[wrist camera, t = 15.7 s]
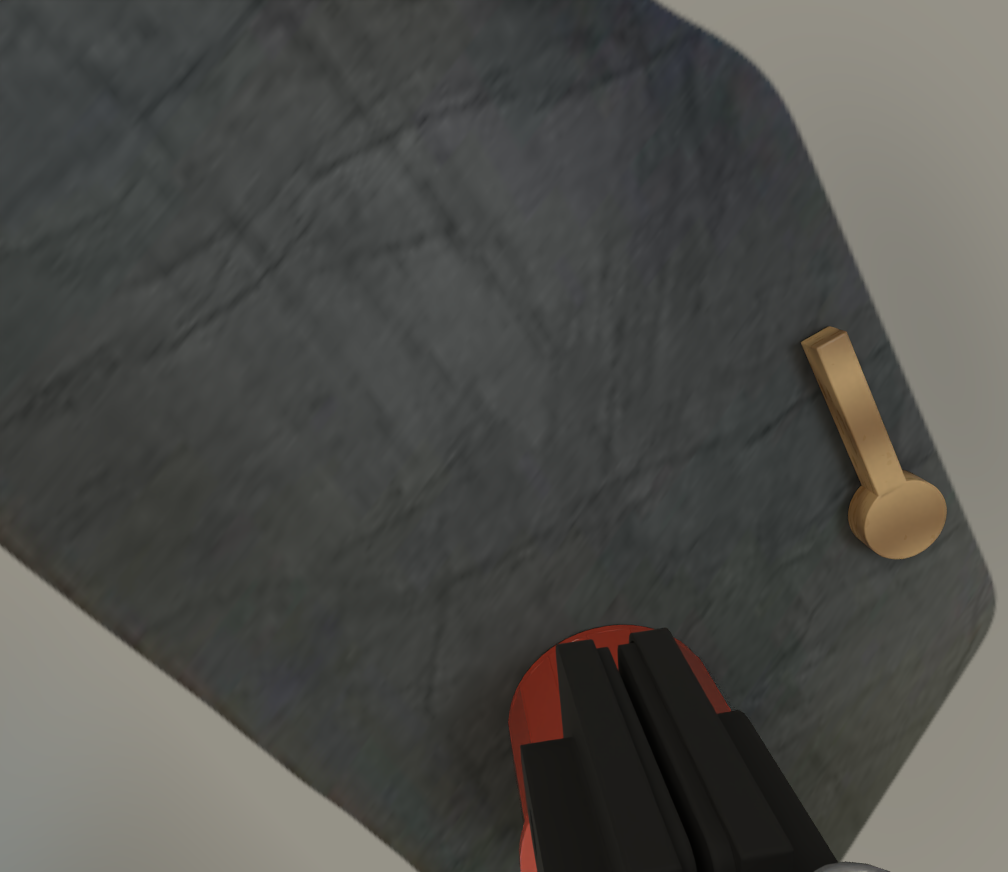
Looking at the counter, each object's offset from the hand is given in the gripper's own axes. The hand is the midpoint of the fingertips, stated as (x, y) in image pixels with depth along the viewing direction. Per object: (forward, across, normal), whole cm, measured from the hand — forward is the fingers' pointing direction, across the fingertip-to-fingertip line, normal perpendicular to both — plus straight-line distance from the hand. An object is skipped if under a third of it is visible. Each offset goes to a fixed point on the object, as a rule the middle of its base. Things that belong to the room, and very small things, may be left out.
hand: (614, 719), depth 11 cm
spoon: (+25, -19, +7) cm, 32 cm away
